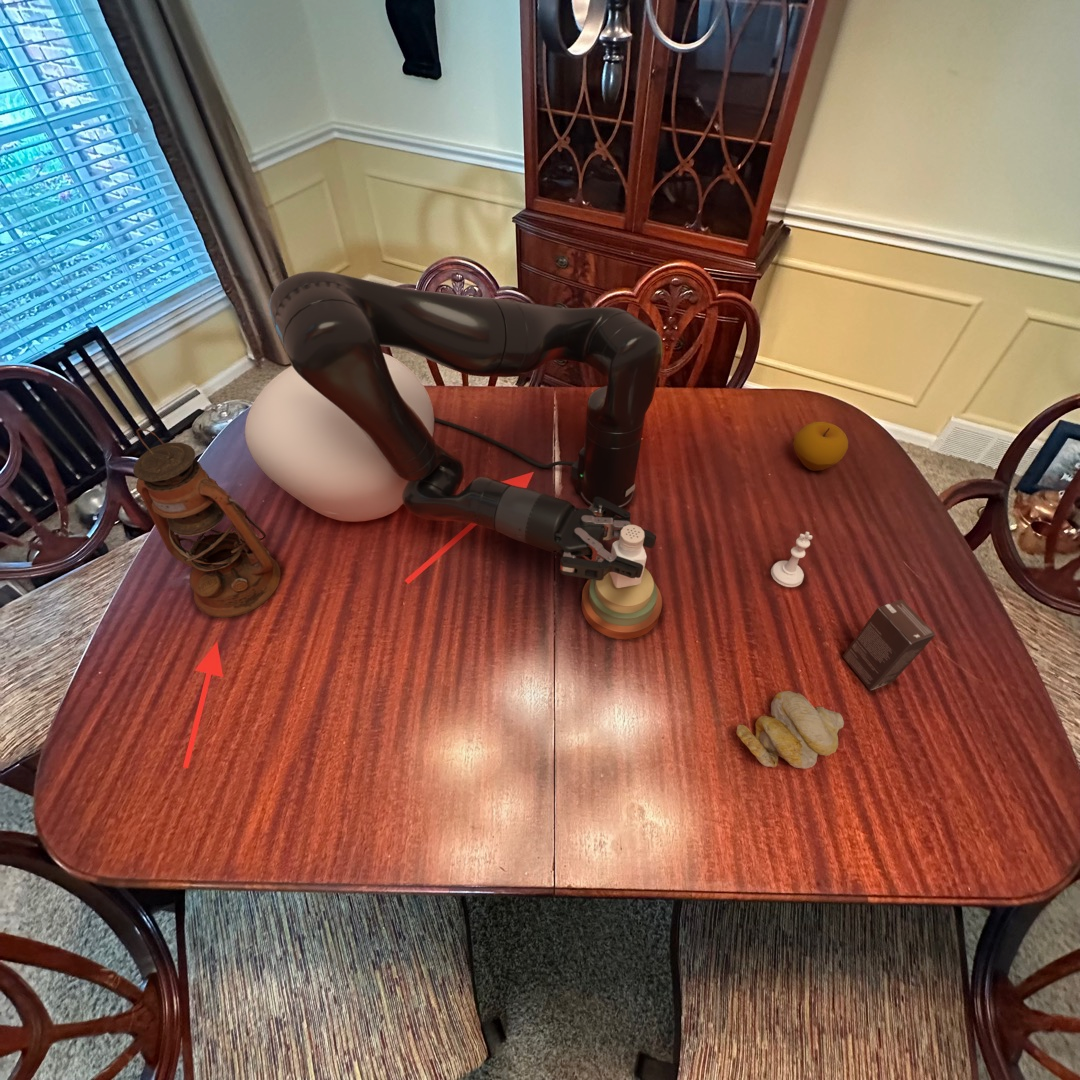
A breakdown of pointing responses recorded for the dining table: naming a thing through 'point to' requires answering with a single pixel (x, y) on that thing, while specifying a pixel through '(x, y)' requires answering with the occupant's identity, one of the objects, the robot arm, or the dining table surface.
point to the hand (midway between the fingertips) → (647, 556)
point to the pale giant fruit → (328, 447)
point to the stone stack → (793, 732)
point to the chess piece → (792, 564)
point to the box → (887, 644)
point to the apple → (820, 445)
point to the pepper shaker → (629, 553)
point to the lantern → (196, 507)
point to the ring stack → (622, 607)
